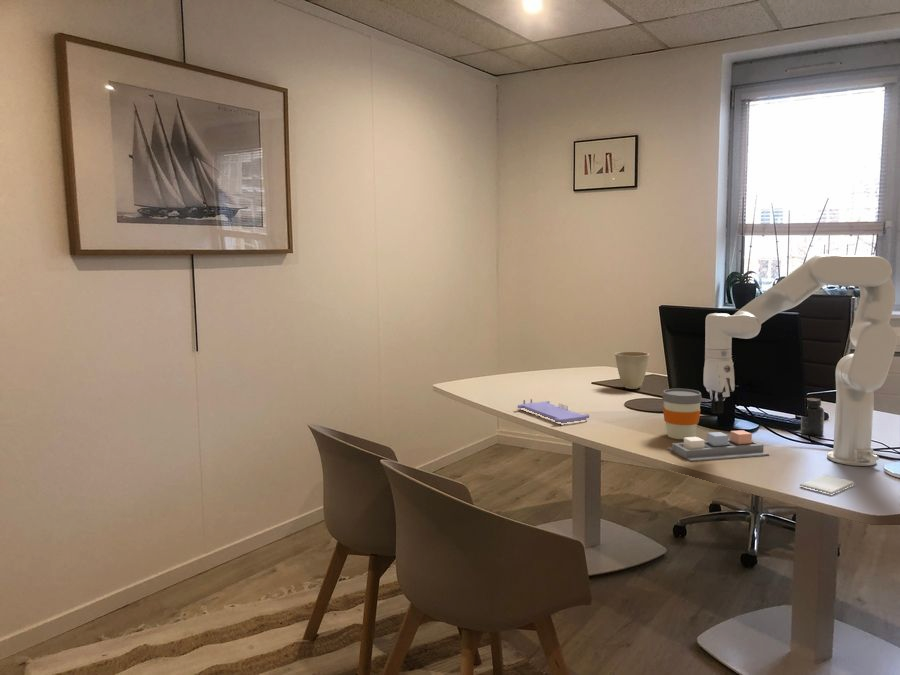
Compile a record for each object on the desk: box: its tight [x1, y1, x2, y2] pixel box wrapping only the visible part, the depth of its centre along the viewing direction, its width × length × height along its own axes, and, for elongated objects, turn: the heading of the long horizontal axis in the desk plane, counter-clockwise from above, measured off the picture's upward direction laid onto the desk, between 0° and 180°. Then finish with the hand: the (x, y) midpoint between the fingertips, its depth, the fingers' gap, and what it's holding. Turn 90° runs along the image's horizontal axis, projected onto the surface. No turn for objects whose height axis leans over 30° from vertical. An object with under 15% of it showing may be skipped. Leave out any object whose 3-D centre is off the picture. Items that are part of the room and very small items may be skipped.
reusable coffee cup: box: [662, 388, 702, 440], centre depth 233 cm, size 13×13×15 cm
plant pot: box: [614, 351, 650, 387], centre depth 314 cm, size 15×15×16 cm
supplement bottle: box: [800, 397, 825, 437], centre depth 233 cm, size 7×7×12 cm
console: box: [666, 438, 770, 462], centre depth 215 cm, size 14×26×2 cm, turn 101°
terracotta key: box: [729, 429, 753, 444], centre depth 216 cm, size 4×4×3 cm
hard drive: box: [799, 474, 855, 494], centre depth 183 cm, size 2×8×12 cm
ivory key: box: [683, 436, 706, 449], centre depth 213 cm, size 4×4×3 cm
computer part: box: [516, 398, 590, 423], centre depth 265 cm, size 30×4×15 cm
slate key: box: [706, 431, 729, 446], centre depth 214 cm, size 4×4×3 cm
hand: (717, 412), depth 213 cm, fingers closed
